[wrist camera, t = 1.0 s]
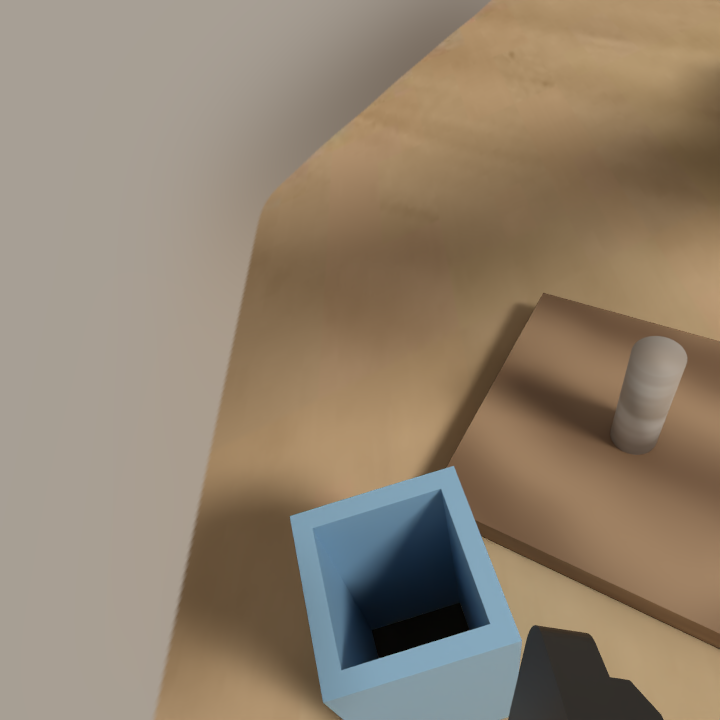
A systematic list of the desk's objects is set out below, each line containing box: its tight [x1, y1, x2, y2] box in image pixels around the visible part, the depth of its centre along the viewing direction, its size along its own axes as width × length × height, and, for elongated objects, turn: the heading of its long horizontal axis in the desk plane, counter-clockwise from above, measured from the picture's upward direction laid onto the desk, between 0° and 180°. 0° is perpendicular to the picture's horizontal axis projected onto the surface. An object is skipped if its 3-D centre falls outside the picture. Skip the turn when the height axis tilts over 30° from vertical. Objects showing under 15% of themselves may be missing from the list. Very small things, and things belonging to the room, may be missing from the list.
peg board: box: [446, 293, 720, 649], centre depth 27 cm, size 14×14×8 cm
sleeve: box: [290, 466, 522, 720], centre depth 21 cm, size 5×5×11 cm
